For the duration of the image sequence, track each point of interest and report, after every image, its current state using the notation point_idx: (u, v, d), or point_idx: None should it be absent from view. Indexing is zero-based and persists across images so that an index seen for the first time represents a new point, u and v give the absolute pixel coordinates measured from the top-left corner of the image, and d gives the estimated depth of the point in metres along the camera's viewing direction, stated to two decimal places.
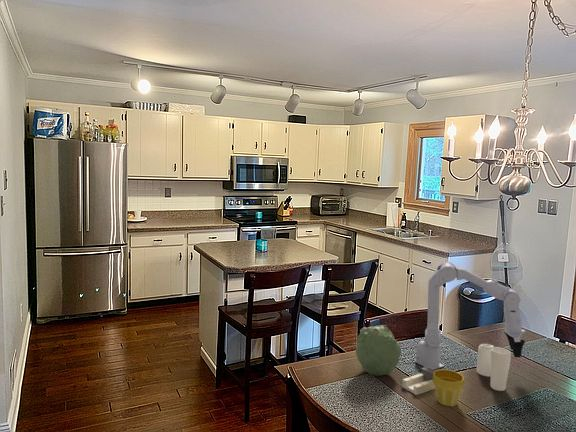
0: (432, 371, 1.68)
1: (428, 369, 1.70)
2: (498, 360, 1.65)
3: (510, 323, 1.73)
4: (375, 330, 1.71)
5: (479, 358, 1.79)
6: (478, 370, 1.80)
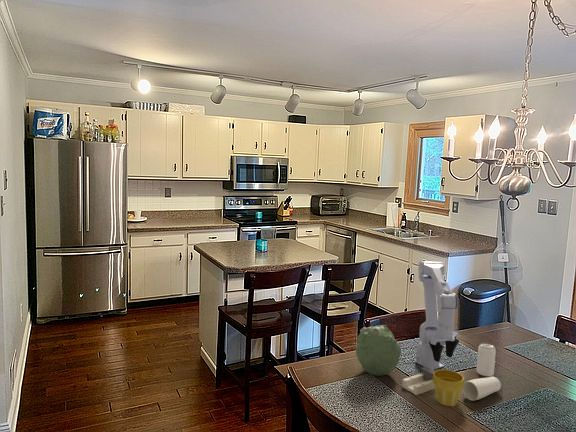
0: (432, 371, 1.68)
1: (428, 369, 1.70)
2: None
3: (438, 326, 1.69)
4: (375, 330, 1.71)
5: (479, 358, 1.79)
6: (478, 370, 1.80)
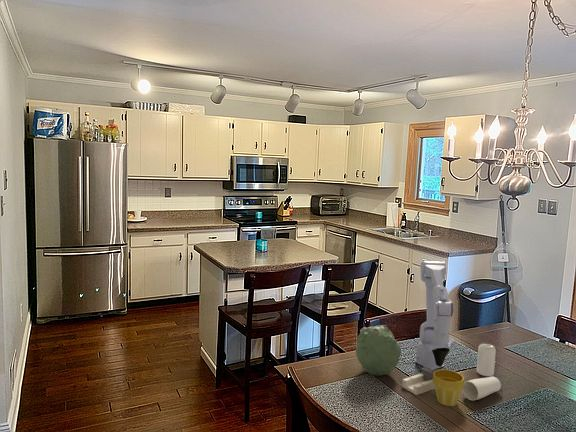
0: (432, 371, 1.68)
1: (428, 369, 1.70)
2: None
3: (434, 333, 1.70)
4: (375, 330, 1.71)
5: (479, 358, 1.79)
6: (478, 370, 1.80)
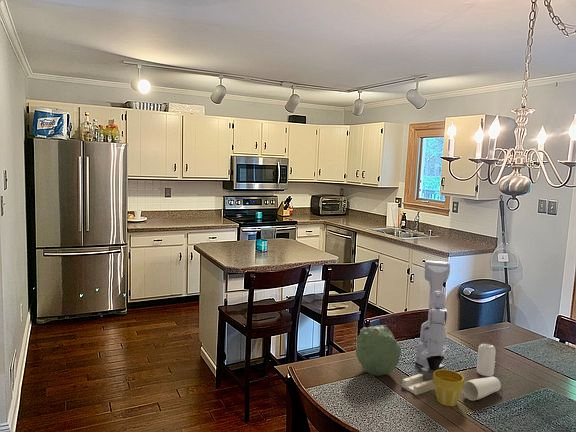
0: (432, 371, 1.68)
1: (428, 369, 1.69)
2: None
3: (428, 340, 1.69)
4: (375, 330, 1.71)
5: (479, 358, 1.79)
6: (478, 370, 1.80)
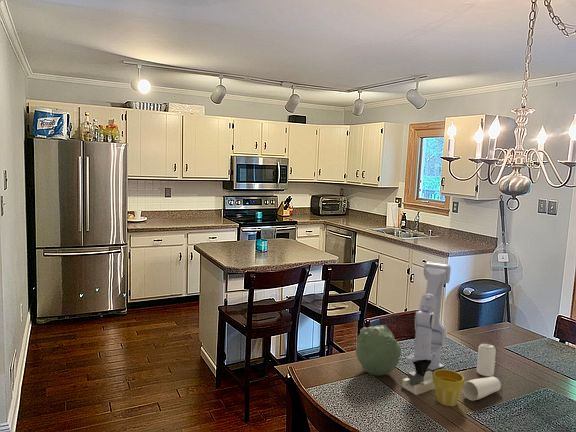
0: (418, 375, 1.64)
1: (414, 373, 1.66)
2: None
3: (415, 344, 1.65)
4: (375, 330, 1.71)
5: (479, 358, 1.79)
6: (478, 370, 1.80)
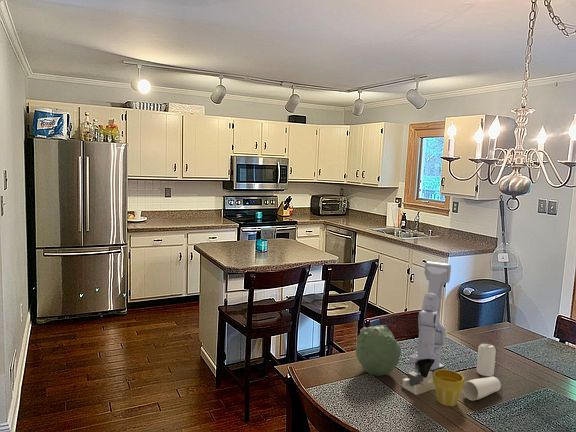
0: (418, 376, 1.64)
1: (414, 373, 1.66)
2: None
3: (418, 343, 1.66)
4: (375, 330, 1.71)
5: (479, 358, 1.79)
6: (478, 370, 1.80)
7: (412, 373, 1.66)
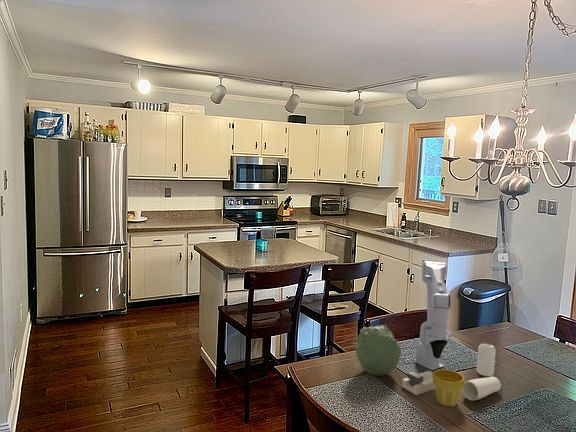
0: (418, 376, 1.64)
1: (414, 373, 1.66)
2: None
3: (432, 325, 1.70)
4: (375, 330, 1.71)
5: (479, 358, 1.79)
6: (478, 370, 1.80)
7: (412, 373, 1.66)
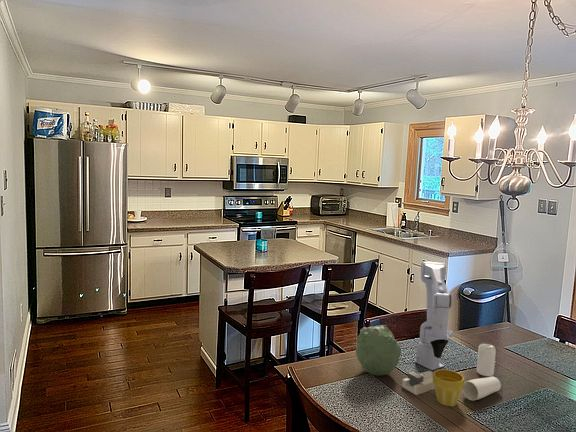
0: (418, 376, 1.64)
1: (414, 373, 1.66)
2: None
3: (432, 324, 1.71)
4: (375, 330, 1.71)
5: (479, 358, 1.79)
6: (478, 370, 1.80)
7: (412, 373, 1.66)
